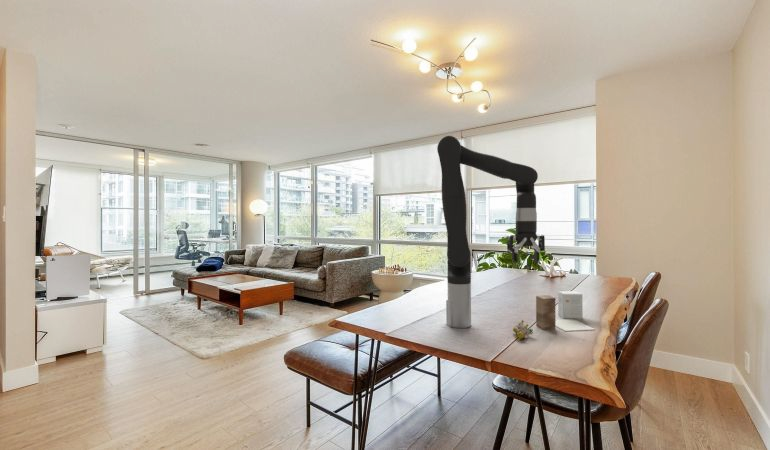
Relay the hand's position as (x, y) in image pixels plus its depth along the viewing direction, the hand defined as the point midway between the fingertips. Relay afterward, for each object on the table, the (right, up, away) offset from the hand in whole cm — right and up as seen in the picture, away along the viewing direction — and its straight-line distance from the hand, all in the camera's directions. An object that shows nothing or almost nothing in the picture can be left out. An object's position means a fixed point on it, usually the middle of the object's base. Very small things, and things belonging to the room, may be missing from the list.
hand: (525, 262), depth 137 cm
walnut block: (+8, -26, +1) cm, 27 cm away
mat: (+19, -25, +3) cm, 32 cm away
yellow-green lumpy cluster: (-4, -26, -6) cm, 27 cm away
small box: (+25, -25, +15) cm, 39 cm away
